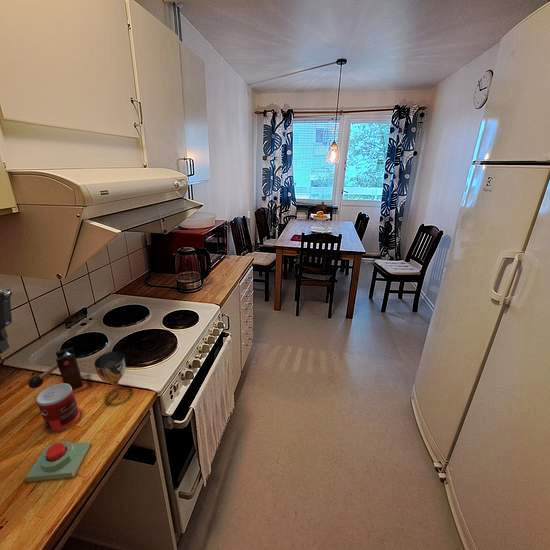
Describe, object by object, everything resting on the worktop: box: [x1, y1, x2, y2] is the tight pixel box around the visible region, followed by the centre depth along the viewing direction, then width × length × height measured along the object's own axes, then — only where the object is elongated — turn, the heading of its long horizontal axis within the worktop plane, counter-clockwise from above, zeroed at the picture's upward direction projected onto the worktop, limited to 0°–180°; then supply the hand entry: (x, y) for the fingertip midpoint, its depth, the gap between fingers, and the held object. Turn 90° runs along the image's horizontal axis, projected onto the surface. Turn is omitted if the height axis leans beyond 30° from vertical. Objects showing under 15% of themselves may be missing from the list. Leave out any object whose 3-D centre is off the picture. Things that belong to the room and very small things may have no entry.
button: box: [46, 442, 66, 462], centre depth 69 cm, size 4×4×2 cm
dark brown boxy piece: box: [55, 347, 84, 391], centre depth 92 cm, size 8×7×14 cm
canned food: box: [36, 382, 81, 431], centre depth 80 cm, size 8×8×11 cm
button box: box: [25, 440, 90, 483], centre depth 70 cm, size 10×8×4 cm
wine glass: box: [93, 350, 127, 396], centre depth 88 cm, size 8×8×15 cm
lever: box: [27, 352, 70, 389], centre depth 89 cm, size 13×4×4 cm
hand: (2, 350), depth 74 cm, fingers closed
